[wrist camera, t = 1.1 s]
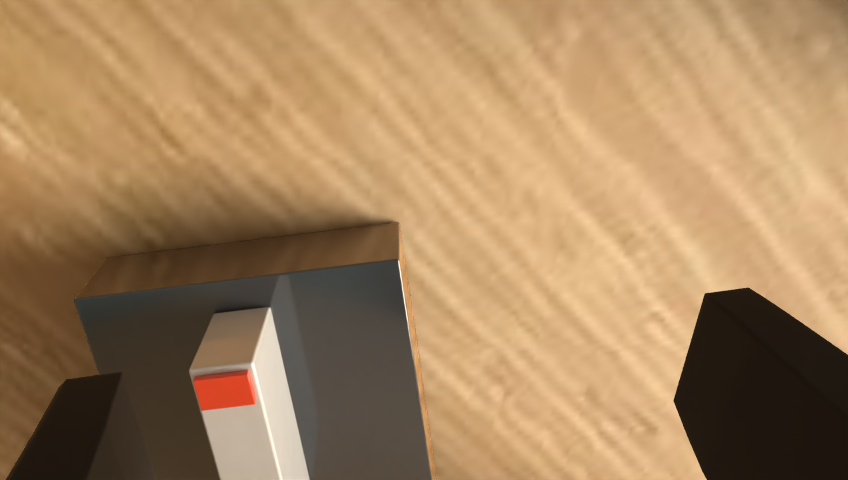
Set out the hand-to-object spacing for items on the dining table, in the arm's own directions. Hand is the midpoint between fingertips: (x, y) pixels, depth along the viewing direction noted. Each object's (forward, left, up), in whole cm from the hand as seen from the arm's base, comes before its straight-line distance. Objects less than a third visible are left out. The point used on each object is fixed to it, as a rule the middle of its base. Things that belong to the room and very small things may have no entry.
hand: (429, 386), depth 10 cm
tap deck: (-12, +3, -16) cm, 20 cm away
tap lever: (-10, +4, -13) cm, 17 cm away
